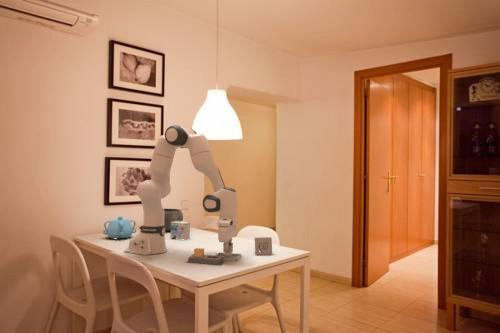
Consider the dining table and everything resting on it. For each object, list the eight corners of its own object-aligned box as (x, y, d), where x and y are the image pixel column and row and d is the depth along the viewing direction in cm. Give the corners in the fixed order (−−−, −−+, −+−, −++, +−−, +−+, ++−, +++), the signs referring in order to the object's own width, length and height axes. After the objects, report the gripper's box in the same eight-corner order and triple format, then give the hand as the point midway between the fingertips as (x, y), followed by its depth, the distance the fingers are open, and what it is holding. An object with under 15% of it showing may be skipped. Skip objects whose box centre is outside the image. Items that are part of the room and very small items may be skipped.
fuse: (193, 261, 178) (194, 249, 178) (195, 260, 180) (195, 248, 180) (202, 262, 177) (202, 249, 177) (203, 261, 179) (204, 248, 179)
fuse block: (184, 264, 176) (185, 257, 176) (191, 260, 183) (191, 253, 183) (221, 267, 171) (221, 260, 171) (226, 263, 179) (226, 256, 179)
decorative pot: (120, 234, 247) (120, 214, 247) (138, 237, 240) (138, 216, 240) (100, 238, 233) (100, 217, 233) (119, 241, 226) (119, 219, 226)
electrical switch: (255, 255, 196) (255, 237, 197) (253, 254, 201) (253, 237, 202) (272, 255, 198) (272, 237, 198) (270, 254, 203) (270, 236, 204)
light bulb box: (170, 238, 236) (170, 221, 236) (175, 237, 243) (176, 220, 243) (184, 240, 232) (184, 223, 232) (190, 238, 239) (190, 221, 239)
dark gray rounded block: (168, 234, 252) (169, 212, 252) (147, 231, 262) (147, 209, 262) (188, 230, 269) (188, 209, 269) (167, 227, 280) (168, 207, 280)
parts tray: (213, 261, 182) (213, 256, 182) (218, 257, 191) (219, 252, 191) (236, 263, 179) (236, 258, 179) (241, 259, 188) (241, 254, 188)
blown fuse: (223, 255, 184) (223, 243, 184) (224, 254, 186) (224, 242, 186) (231, 256, 183) (231, 243, 183) (232, 254, 185) (232, 242, 185)
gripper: (228, 217, 196) (227, 243, 196) (215, 222, 176) (215, 251, 176) (239, 217, 194) (239, 244, 194) (228, 223, 174) (228, 252, 174)
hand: (227, 247), depth 185 cm, fingers closed on blown fuse, 2 cm apart
